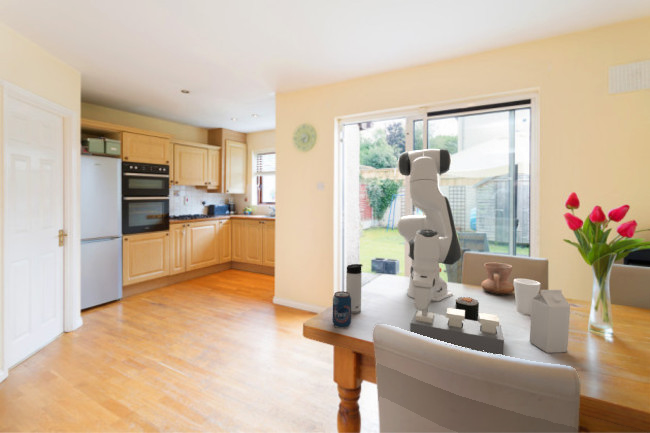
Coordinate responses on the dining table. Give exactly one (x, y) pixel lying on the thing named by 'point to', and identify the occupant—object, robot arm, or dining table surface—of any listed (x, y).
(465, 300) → the sushi
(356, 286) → the travel mug
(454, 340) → the block
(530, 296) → the foam cup
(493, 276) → the ceramic jug
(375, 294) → the dining table surface
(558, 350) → the milk carton
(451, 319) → the knob middle
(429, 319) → the knob
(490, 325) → the knob
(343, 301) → the soda can
